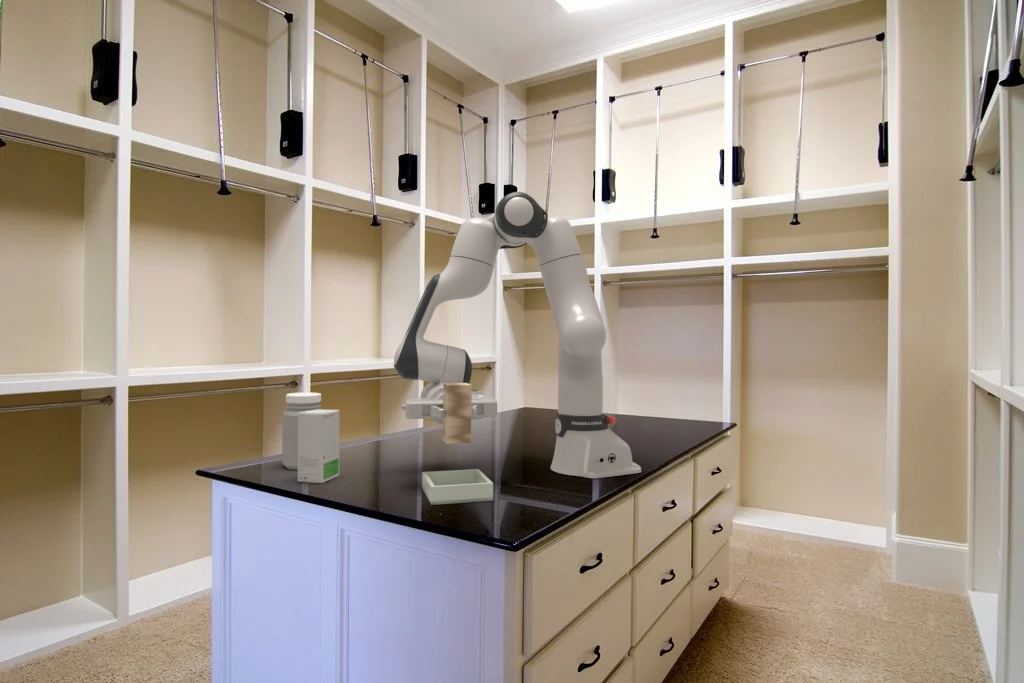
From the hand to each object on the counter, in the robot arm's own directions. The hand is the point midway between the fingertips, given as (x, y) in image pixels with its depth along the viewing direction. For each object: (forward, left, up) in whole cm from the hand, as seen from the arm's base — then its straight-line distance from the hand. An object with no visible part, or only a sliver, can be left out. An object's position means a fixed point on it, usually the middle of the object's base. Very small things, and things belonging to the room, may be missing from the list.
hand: (457, 413), depth 121 cm
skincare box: (+28, -21, -17) cm, 39 cm away
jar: (+32, -35, -17) cm, 50 cm away
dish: (0, -1, -17) cm, 17 cm away
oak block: (0, -1, -6) cm, 6 cm away
